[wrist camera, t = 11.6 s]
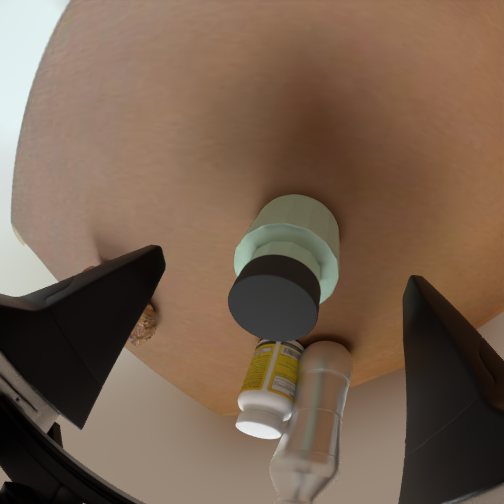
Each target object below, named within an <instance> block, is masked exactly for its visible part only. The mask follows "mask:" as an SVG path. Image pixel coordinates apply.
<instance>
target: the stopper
mask: <svg viewBox="0 0 504 504" xmlns="http://www.w3.org/2000/svg"><path fill="white" fill-rule="evenodd" d="M320 297H321V288H320V284H319V281H318V279H317V277H316V276H315V274H314V273H313V272H312V271H311V270H310V269H309V268H308V267H307V266H306V265H305V264H303V263H302V262H300V261H298V260H296V259H294V258H291V257H288V256H284V255H277V254H270V255H263V256H259V257H257V258H254V259H253V260H251V261H249V262H248V263H247V264H246V265H245V266H244V267H243V269H242V270H241V272H240V274H239V276H238V277H237V279H236V281H235V283H234V285H233V287H232V288H231V290H230V293H229V296H228V305H229V309H230V312H231V314H232V316H233V318H234V319H235V320H236V322H237V323H238V324H239V325H240V326H241V327H242V328H243V329H245V330H246V331H248V332H249V333H251V334H253V335H255V336H257V337H259V338H262V339H265V340H269V341H276V342H287V341H293V340H297V339H299V338H302V337H304V336H305V335H307V334H308V333H309V332H310V331H311V330H312V329H313V328H314V326H315V324H316V322H317V318H318V311H319V304H320Z"/></svg>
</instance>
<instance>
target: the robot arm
mask: <svg viewBox="0 0 504 504" xmlns="http://www.w3.org/2000/svg"><path fill="white" fill-rule="evenodd" d="M165 267H166V263H165V259H164V255H163V251H162V248H161V247H160V246H158V245H149V246H146V247H144V248H141V249H138V250H136V251H133V252H131V253H128V254H126V255H123V256H121V257H118V258H116V259H113V260H111V261H108V262H106V263H103V264H101V265H98V266H96V267H94V268H91V269H89V270H86V271H84V272H82V273H79V274H77V275H76V276H72V277H70V278H68V279H65V280H63V281H60V282H58V283H56V284H53V285H51V286H48V287H45V288H43V289H40V290H38V291H35V292H33V293H30V294H27V295H25V296H21V297H11V296H7V295H3V294H0V466H1V468H2V469H3V470H4V472H5V473H6V474H7V475H8V477H9V478H10V479H11V481H12V482H4V484H3V486H2V488H1V490H0V504H83V503H85V504H145V503H143V502H141V501H139V500H137V499H136V498H134V497H132V496H130V495H129V494H127V493H125V492H123V491H122V490H120V489H118V488H117V487H115V486H113V485H112V484H110V483H109V482H107V481H106V480H104V479H103V478H101V477H100V476H98V475H96V474H95V473H94V472H92V471H91V470H90V469H88V468H87V467H85V466H84V465H83V464H81V463H80V462H79V461H78V460H76V459H75V458H74V457H72V456H71V455H70V454H69V453H67V452H66V451H65V450H64V449H63V445H62V438H61V432H60V431H61V430H60V425H59V424H58V423H56V422H55V420H56V419H57V417H58V416H59V415H61V416H63V417H64V418H65V419H66V420H68V421H69V422H70V423H72V424H73V425H74V426H76V427H77V428H78V429H80V430H82V428H83V427H84V425H85V423H86V420H87V418H88V416H89V414H90V412H91V409H92V408H93V406H94V403H95V401H96V399H97V397H98V395H99V393H100V391H101V389H102V386H103V385H104V383H105V381H106V379H107V377H108V375H109V373H110V371H111V369H112V368H113V365H114V364H115V362H116V360H117V358H118V356H119V355H120V353H121V351H122V349H123V347H124V345H125V344H126V342H127V340H128V338H129V336H130V335H131V333H132V331H133V329H134V328H135V326H136V324H137V322H138V321H139V319H140V317H141V315H142V314H143V312H144V310H145V309H146V307H147V305H148V303H149V302H150V300H151V298H152V296H153V294H154V292H155V289H156V287H157V285H158V283H159V281H160V279H161V277H162V275H163V273H164V271H165ZM403 344H404V355H405V370H406V393H407V422H406V439H405V444H406V445H405V458H404V468H403V476H402V484H401V492H400V497H399V503H398V504H504V361H503V359H502V358H501V357H500V356H499V355H498V354H497V353H496V352H495V350H494V349H493V348H492V347H491V346H490V345H489V344H488V343H487V341H486V340H485V339H484V338H482V336H481V335H480V334H479V333H478V331H477V330H476V329H475V328H474V327H473V326H472V325H471V324H470V323H469V322H468V321H467V320H466V319H465V318H464V317H463V316H462V314H461V313H460V312H459V311H458V310H457V309H456V308H455V307H454V306H453V305H452V304H451V303H450V302H449V301H448V300H447V299H446V298H445V297H444V296H442V295H441V294H440V293H439V292H438V291H437V290H436V289H435V288H434V287H433V286H432V285H431V284H430V283H429V282H428V281H427V280H426V279H424V278H423V277H422V276H417V275H411V276H410V278H409V280H408V283H407V286H406V289H405V292H404V295H403Z"/></svg>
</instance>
